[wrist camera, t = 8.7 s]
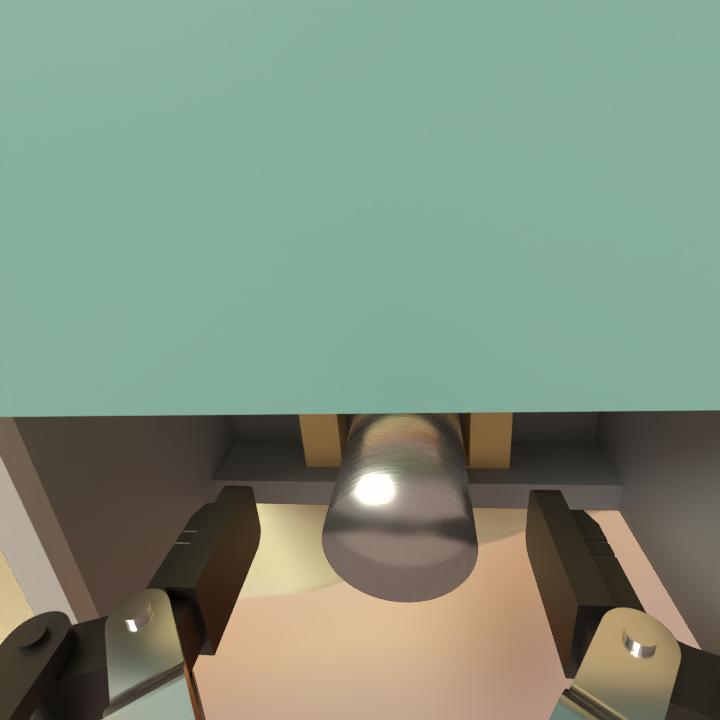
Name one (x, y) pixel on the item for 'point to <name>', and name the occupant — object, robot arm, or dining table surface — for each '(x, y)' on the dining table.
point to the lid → (359, 206)
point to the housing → (316, 484)
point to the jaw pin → (402, 508)
